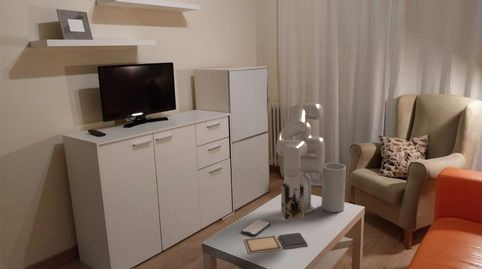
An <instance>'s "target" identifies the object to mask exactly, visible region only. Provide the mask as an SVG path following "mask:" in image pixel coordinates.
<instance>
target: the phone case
mask: <svg viewBox="0 0 482 269" xmlns="http://www.w3.org/2000/svg"><path fill="white" fill-rule="evenodd" d="M270 226H271V223H270V222H268V221H266V220H262V219H255V220H253V222H251V223H250V224H248V225H247V226H245V227H243V228H242V229H241V231H240V232H241V233H240V234H242V235H247V236H249V237H252V238H256V237H257V236H259V235H260V234H261V233H262V232H264V230H266V229H267V228H268V227H270Z"/></svg>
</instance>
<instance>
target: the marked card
mask: <svg viewBox="0 0 482 269" xmlns="http://www.w3.org/2000/svg"><path fill="white" fill-rule="evenodd" d="M243 242H244V244H245V247H246V249H247V252H248V254H249V255H251V254H258V253H267V252H273V251H279V250H280V251H281V250H284V249H283V248H284V247H283V245H282V243H281V242H280V240H279V238H278V237H277V236H276V234H275V235H268V236H260V237H252V238H244V239H243Z"/></svg>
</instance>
